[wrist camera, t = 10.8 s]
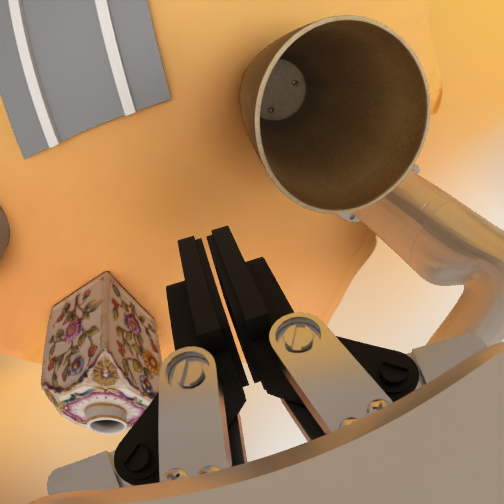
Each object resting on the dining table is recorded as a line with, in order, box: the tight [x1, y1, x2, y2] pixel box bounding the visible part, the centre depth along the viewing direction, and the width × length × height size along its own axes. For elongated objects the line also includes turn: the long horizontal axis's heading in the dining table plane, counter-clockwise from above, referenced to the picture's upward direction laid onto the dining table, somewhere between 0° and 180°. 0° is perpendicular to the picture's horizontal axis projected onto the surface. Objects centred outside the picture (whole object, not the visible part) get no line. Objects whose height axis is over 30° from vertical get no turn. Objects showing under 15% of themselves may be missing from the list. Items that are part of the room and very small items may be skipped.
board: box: [0, 0, 171, 160], centre depth 17 cm, size 28×16×4 cm, turn 10°
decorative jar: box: [41, 272, 162, 434], centre depth 34 cm, size 12×12×18 cm
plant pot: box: [240, 15, 430, 214], centre depth 25 cm, size 15×15×16 cm
